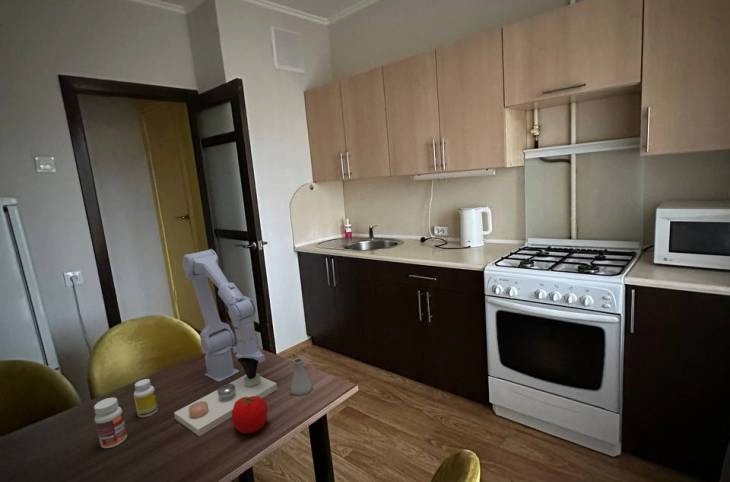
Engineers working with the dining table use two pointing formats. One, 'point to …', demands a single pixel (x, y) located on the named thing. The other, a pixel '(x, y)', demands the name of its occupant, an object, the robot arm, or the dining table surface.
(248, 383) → the sage button
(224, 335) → the robot arm
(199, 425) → the control panel
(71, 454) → the dining table surface
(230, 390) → the grey button
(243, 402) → the tomato
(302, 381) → the flask
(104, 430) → the pill bottle
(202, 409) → the terracotta button
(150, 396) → the supplement bottle
